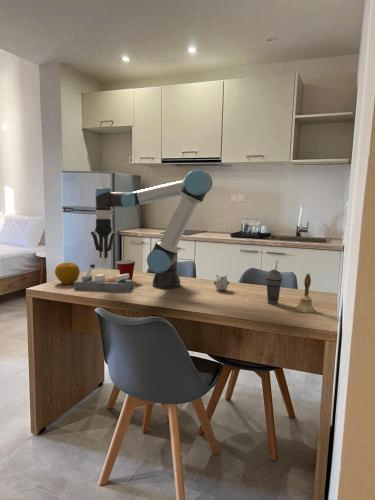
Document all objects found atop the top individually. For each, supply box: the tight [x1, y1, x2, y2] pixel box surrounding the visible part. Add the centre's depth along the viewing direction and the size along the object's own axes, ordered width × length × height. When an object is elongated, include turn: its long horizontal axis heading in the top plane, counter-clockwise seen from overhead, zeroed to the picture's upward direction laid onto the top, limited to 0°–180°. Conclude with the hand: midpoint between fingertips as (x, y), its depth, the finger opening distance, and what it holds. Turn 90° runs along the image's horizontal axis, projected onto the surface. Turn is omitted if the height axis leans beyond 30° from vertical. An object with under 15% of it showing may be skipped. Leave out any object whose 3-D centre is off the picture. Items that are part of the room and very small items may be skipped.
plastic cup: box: [116, 259, 136, 280], centre depth 204 cm, size 11×11×12 cm
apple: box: [54, 262, 80, 285], centre depth 198 cm, size 13×13×11 cm
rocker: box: [114, 273, 130, 281], centre depth 187 cm, size 6×4×2 cm, turn 83°
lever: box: [85, 263, 96, 280], centre depth 189 cm, size 3×5×9 cm, turn 173°
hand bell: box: [295, 273, 316, 314], centre depth 156 cm, size 8×8×16 cm
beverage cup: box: [265, 260, 283, 306], centre depth 165 cm, size 7×7×20 cm
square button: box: [94, 273, 106, 282], centre depth 188 cm, size 4×4×4 cm
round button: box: [106, 276, 115, 282], centre depth 188 cm, size 4×4×4 cm
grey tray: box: [73, 273, 133, 293], centre depth 188 cm, size 28×10×6 cm, turn 83°
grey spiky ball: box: [213, 274, 231, 292], centre depth 187 cm, size 9×8×10 cm
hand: (103, 264), depth 187 cm, fingers closed
